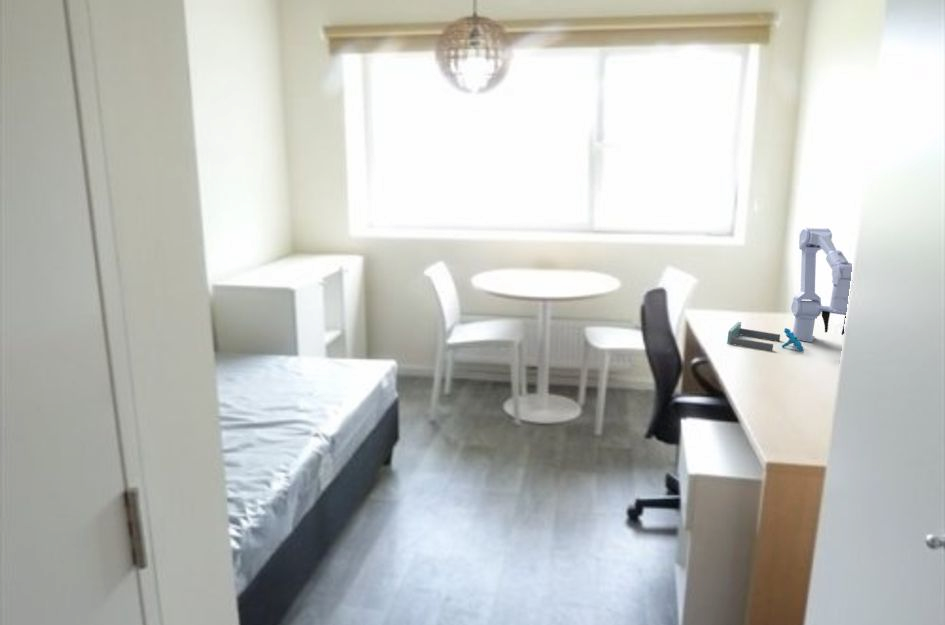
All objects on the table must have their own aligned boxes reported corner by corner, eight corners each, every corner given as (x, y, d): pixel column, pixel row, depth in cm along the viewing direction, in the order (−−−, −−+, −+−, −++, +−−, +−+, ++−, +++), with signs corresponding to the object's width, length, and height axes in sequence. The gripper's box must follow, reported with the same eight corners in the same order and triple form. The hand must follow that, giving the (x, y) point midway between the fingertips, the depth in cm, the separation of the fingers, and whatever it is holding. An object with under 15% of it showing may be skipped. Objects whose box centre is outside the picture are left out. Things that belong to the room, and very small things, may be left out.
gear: (801, 350, 256) (784, 327, 259) (787, 358, 259) (771, 336, 262) (807, 347, 264) (791, 326, 268) (794, 356, 267) (778, 334, 271)
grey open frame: (736, 333, 281) (738, 321, 280) (779, 340, 273) (781, 328, 272) (727, 343, 267) (728, 330, 266) (771, 351, 259) (773, 338, 258)
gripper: (817, 295, 251) (811, 332, 255) (862, 301, 244) (855, 338, 247) (819, 292, 257) (813, 328, 261) (863, 298, 250) (857, 334, 253)
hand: (834, 333), depth 254 cm, fingers open, 5 cm apart
